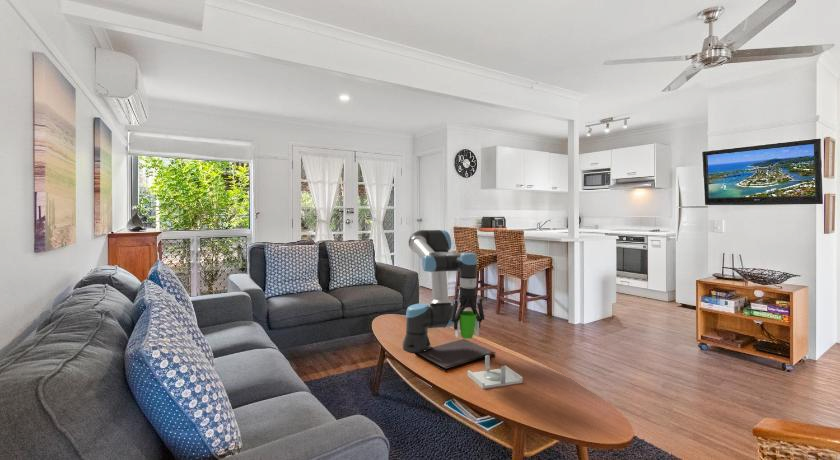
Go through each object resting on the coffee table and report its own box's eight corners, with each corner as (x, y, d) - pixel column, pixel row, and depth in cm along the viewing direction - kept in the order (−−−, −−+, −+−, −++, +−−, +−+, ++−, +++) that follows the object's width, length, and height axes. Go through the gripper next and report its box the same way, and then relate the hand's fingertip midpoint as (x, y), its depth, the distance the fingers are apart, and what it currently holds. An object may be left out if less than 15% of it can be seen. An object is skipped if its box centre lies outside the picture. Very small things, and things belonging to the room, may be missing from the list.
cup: (475, 340, 180) (476, 316, 179) (455, 339, 182) (456, 314, 181) (477, 334, 188) (478, 311, 188) (458, 333, 190) (458, 310, 190)
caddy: (466, 375, 185) (467, 357, 185) (504, 369, 192) (505, 352, 192) (483, 389, 171) (484, 370, 170) (523, 383, 178) (524, 365, 177)
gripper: (449, 289, 177) (448, 340, 178) (493, 287, 184) (492, 336, 185) (442, 286, 184) (441, 335, 185) (485, 284, 191) (484, 331, 192)
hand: (466, 335), depth 185 cm, fingers closed on cup, 9 cm apart
